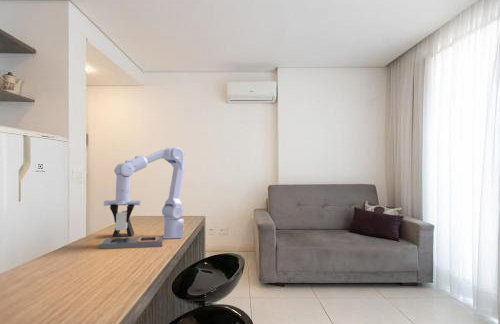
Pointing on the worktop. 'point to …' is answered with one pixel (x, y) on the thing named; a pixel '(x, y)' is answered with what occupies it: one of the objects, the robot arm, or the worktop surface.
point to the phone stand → (128, 234)
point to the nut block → (121, 221)
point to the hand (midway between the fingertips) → (121, 222)
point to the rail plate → (132, 242)
